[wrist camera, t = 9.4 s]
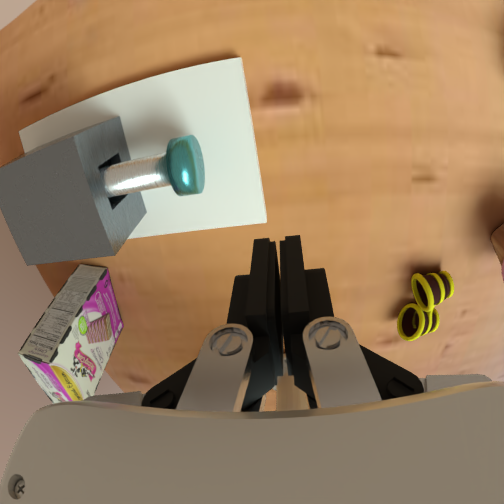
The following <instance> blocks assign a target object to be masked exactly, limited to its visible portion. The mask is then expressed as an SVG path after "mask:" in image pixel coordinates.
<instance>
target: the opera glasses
mask: <svg viewBox="0 0 504 504" xmlns="http://www.w3.org/2000/svg"><path fill="white" fill-rule="evenodd" d="M411 286H412V291H413V294H414V297H415V300H416V302H417V304H418V305H419V306H418V305H417V304H414V303H410V304H407V305H405V306H404V307H403V308H402V310H401V311H400V313H399V316H398V320H397V329H398V333H399V335H400V337H401V338H402V339H404V340H406V341H413V340H415V339H417V338H418V337H419V336H423V335H425V334H427V333H429V332H434V331H435V330H436V329H437V328H438V325H439V314H438V312H437V310H436V309H435V308H434V306H435V305H438V304H439V303H441V302H442V301H443V300H445V299H446V298H449V297H451V296H452V295H453V293H454V283H453V280H452V277H451V276H450V274H449V273H448V272H446V271H441V272H439V273H428V274H427V275H423V276H422V275H421V274H419V273H416V274H414V275H413V276H412V279H411Z"/></svg>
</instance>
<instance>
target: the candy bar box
mask: <svg viewBox="0 0 504 504" xmlns="http://www.w3.org/2000/svg"><path fill="white" fill-rule="evenodd" d="M123 327H124V326H123V322H122V319H121V316H120V313H119V309H118V306H117V302H116V299H115V295H114V291H113V288H112V284H111V280H110V276H109V272H108V268H106V267H101V266H91V265H84V264H79V265H78V267H77V268H76V269H75V271H74V272H73V273H72V274H71V276H70V277H69V278H68V280H67V281H66V283H65V284H64V285H63V287H62V288H61V289H60V291H59V292H58V294H57V295H56V296H55V298H54V299H53V301H52V302H51V304H50V305H49V306H48V308H47V309H46V311H45V312H44V314H43V315H42V317H41V318H40V319H39V321H38V322H37V324H36V326H35V327H34V329H33V330H32V332H31V333H30V335H29V336H28V338H27V339H26V341H25V343H24V344H23V346H22V347H21V349H20V351H19V352H18V354H19V356H20V357H21V359H22V361H23V362H24V364H25V365H26V367H27V368H28V369H29V371H30V372H31V374H32V375H33V377H34V378H35V380H36V381H37V382H38V384H39V385H40V387H41V388H42V389H43V391H44V392H45V393H46V395H47V396H48V397H49V399H50V400H51V401H52V403H53V404H54V403H59V402H64V401H83V400H84V399H86V398H87V397H90V396H94V393H95V391H96V389H97V386H98V384H99V381H100V379H101V377H102V374H103V371H104V369H105V367H106V364H107V362H108V360H109V357H110V355H111V353H112V350H113V348H114V346H115V344H116V341H117V339H118V337H119V335H120V333H121V331H122V329H123Z"/></svg>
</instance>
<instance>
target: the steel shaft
mask: <svg viewBox="0 0 504 504" xmlns="http://www.w3.org/2000/svg"><path fill="white" fill-rule="evenodd" d="M98 169H99V172H100V175H101V179H102V182H103V185H104V188H105V191H106V194H107V197H108V198H109V197H114V196H119V195H124V194H129V193H134V192H139V191H144V190H150V189H155V188H161V187H166V186H172V188H173V190H174V192H175V193H176V194H177V195H178V196H188V195H194V194H200V193H202V192H203V189H204V185H205V168H204V160H203V155H202V151H201V148H200V145H199V142H198V140H197V139H196V137H195V136H194V135H187V136H182V137H177V138H173V139H171V140H170V141H169V142H168V145H167V150H166V152H165V153H160V154H155V155H151V156H146V157H142V158H138V159H133V160H129V161H125V162H121V163H117V164H113V165H109V166H106V167H102V168H98Z"/></svg>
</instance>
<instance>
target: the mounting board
mask: <svg viewBox="0 0 504 504" xmlns="http://www.w3.org/2000/svg"><path fill="white" fill-rule="evenodd" d="M118 116H120V119H121V123H122V127H123V131H124V135H125V139H126V142H127V146H128V150H129V154H130V157H131V160H133V159H138V158H142V157H146V156H151V155H155V154H160V153H165V152H166V150H167V145H168V142H169V141H170V140H171V139H173V138H177V137H182V136H187V135H194V136H195V137H196V139H197V140H198V142H199V145H200V148H201V151H202V155H203V160H204V168H205V185H204V189H203V192H202V193H200V194H194V195H188V196H178V195H177V194H176V193H175V192H174V190H173V188H172V186H166V187H161V188H155V189H150V190H144V191H141V195H142V198H143V201H144V204H145V208H146V211H147V213H146V214H145V216H144V217H143V218H142V220H141V221H140V222H139V224H138V225H137V226H136V228H135V229H134V230H133V232H132V233H131V234H130V236H129V237H128V238H127V239H131V238H139V237H146V236H154V235H162V234H170V233H179V232H187V231H195V230H204V229H213V228H222V227H231V226H240V225H249V224H259V223H267V214H266V208H265V201H264V194H263V188H262V181H261V174H260V168H259V161H258V155H257V148H256V142H255V136H254V129H253V123H252V117H251V111H250V105H249V99H248V93H247V87H246V81H245V75H244V69H243V63H242V58H241V57H238V58H232V59H226V60H221V61H216V62H211V63H206V64H201V65H196V66H192V67H188V68H183V69H179V70H175V71H171V72H168V73H164V74H160V75H157V76H153V77H150V78H146V79H143V80H140V81H137V82H133V83H130V84H127V85H124V86H121V87H118V88H115V89H113V90H110V91H107V92H104V93H102V94H99V95H96V96H94V97H91V98H89V99H86V100H84V101H81V102H79V103H76V104H74V105H72V106H69V107H67V108H65V109H63V110H60V111H58V112H56V113H54V114H52V115H49V116H47V117H45V118H43V119H41V120H39V121H37V122H35V123H33V124H31V125H29V126H27V127H25V128H24V129H22V130H20V131H19V135H20V138H21V142H22V145H23V149H24V152H25V153H26V152H28V151H30V150H32V149H34V148H36V147H38V146H41V145H43V144H45V143H48V142H50V141H52V140H55V139H57V138H60V137H62V136H65V135H67V134H70V133H72V132H75V131H78V130H80V129H83V128H86V127H89V126H91V125H94V124H97V123H100V122H103V121H106V120H109V119H112V118H115V117H118Z"/></svg>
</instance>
